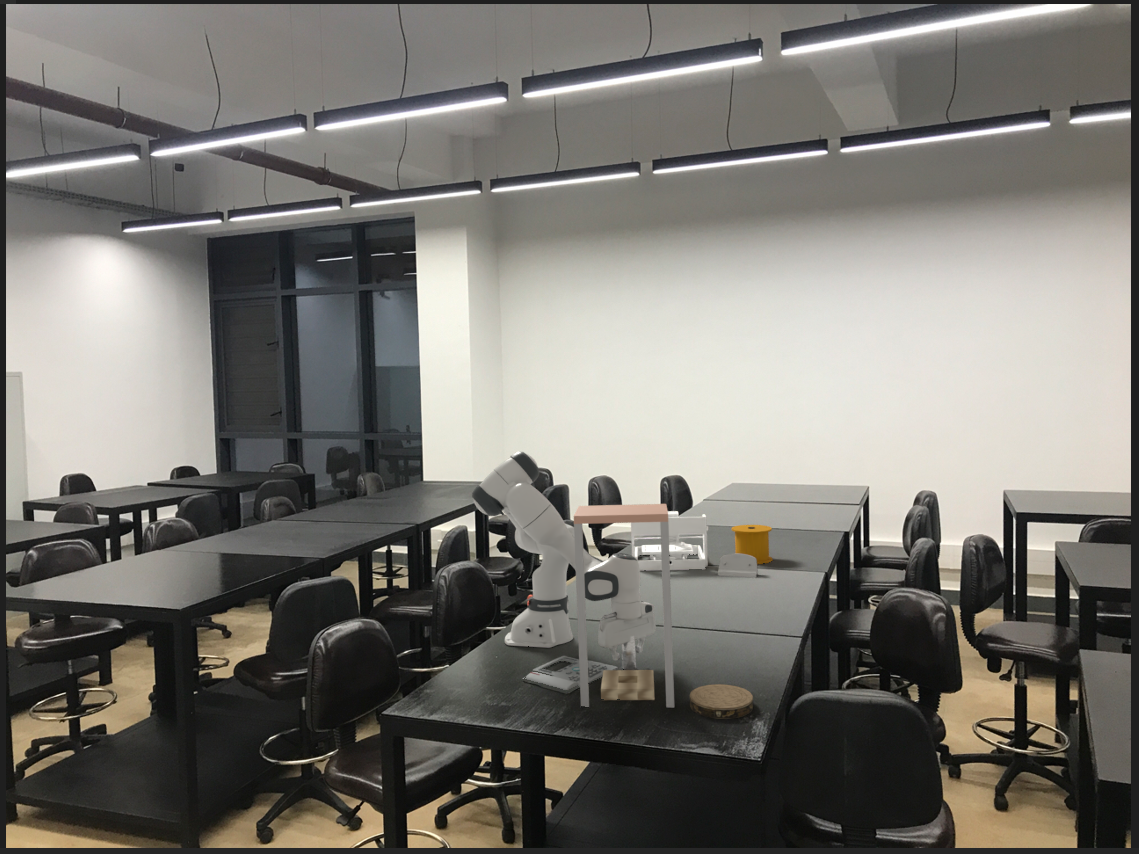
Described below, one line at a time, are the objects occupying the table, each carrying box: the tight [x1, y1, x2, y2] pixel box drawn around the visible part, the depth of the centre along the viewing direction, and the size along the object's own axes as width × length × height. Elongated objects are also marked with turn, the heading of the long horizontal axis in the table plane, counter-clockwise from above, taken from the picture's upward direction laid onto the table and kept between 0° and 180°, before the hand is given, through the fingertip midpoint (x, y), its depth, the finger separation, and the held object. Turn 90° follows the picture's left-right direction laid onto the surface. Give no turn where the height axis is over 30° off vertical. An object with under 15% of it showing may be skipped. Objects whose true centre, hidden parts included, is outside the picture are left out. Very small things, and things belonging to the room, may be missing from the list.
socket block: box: [600, 669, 655, 701], centre depth 222 cm, size 14×14×3 cm
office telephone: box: [521, 655, 619, 690], centre depth 236 cm, size 23×3×20 cm
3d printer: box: [630, 510, 709, 572], centre depth 375 cm, size 35×32×25 cm
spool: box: [730, 524, 773, 565], centre depth 373 cm, size 18×18×15 cm
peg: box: [621, 635, 637, 670], centre depth 239 cm, size 4×4×10 cm
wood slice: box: [689, 683, 754, 720], centre depth 209 cm, size 16×16×3 cm
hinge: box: [717, 553, 759, 578], centre depth 347 cm, size 17×5×10 cm, turn 69°
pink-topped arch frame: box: [573, 503, 675, 708], centre depth 217 cm, size 24×17×50 cm
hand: (627, 655), depth 239 cm, fingers open, 8 cm apart
